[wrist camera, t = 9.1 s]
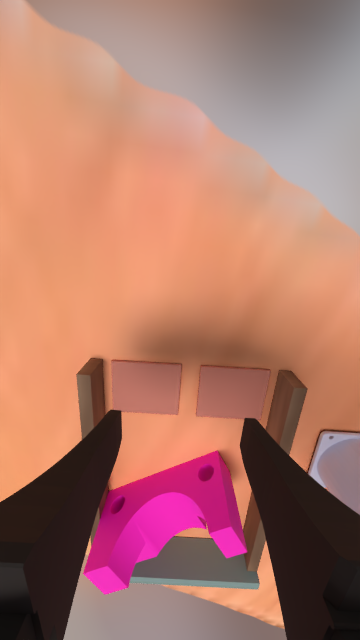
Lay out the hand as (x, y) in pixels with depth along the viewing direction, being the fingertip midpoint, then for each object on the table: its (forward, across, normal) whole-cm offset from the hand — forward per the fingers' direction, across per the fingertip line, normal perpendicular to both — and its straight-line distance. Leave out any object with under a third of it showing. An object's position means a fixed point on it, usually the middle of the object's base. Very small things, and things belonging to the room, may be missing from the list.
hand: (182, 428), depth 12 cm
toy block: (+10, 0, +18) cm, 21 cm away
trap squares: (+9, -1, +4) cm, 10 cm away
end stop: (+9, -1, +28) cm, 30 cm away
